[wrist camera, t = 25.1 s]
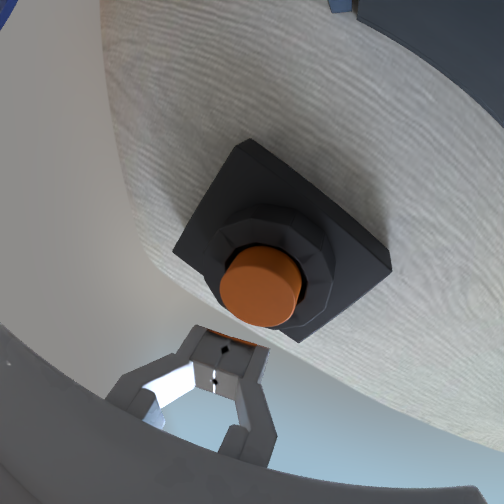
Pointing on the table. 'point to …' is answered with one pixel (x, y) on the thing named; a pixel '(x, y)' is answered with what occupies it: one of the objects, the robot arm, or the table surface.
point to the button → (261, 286)
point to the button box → (283, 236)
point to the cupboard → (450, 41)
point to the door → (340, 5)
